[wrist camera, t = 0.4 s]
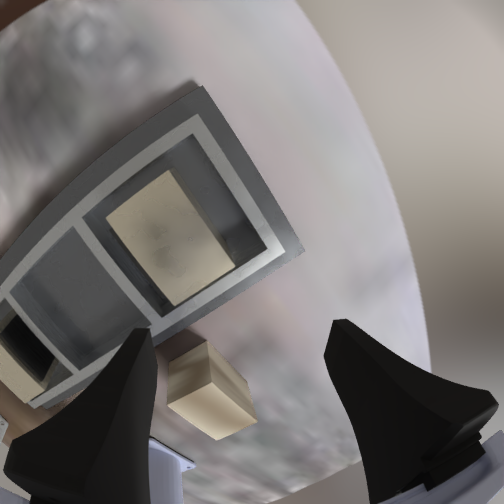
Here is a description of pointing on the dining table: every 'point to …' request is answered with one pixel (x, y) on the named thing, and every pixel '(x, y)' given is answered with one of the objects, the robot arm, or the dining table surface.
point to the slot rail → (88, 276)
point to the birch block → (209, 392)
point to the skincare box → (2, 427)
